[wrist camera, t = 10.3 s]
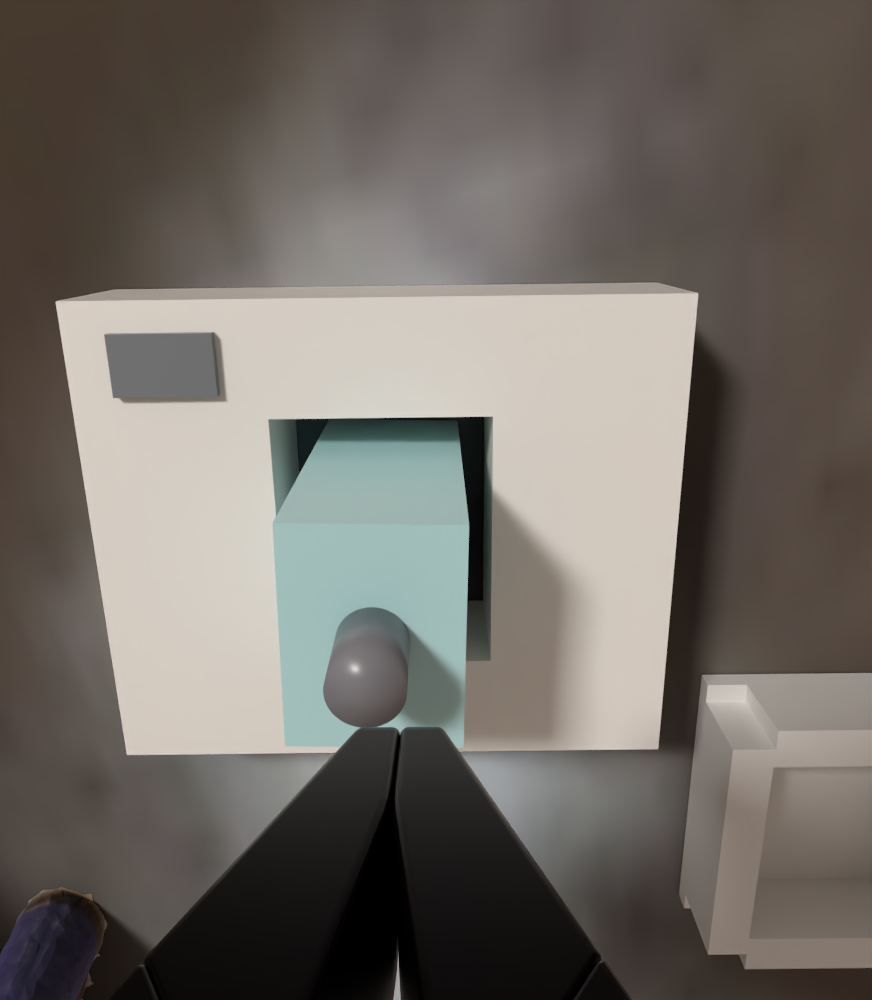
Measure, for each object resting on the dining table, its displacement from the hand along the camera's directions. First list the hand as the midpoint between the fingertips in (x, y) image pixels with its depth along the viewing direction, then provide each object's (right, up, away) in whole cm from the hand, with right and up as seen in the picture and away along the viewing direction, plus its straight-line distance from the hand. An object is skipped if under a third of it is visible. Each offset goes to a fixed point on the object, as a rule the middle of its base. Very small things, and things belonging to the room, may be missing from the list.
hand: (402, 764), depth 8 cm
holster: (+10, -5, +14) cm, 18 cm away
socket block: (-1, +3, +12) cm, 12 cm away
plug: (-1, +3, +12) cm, 12 cm away
